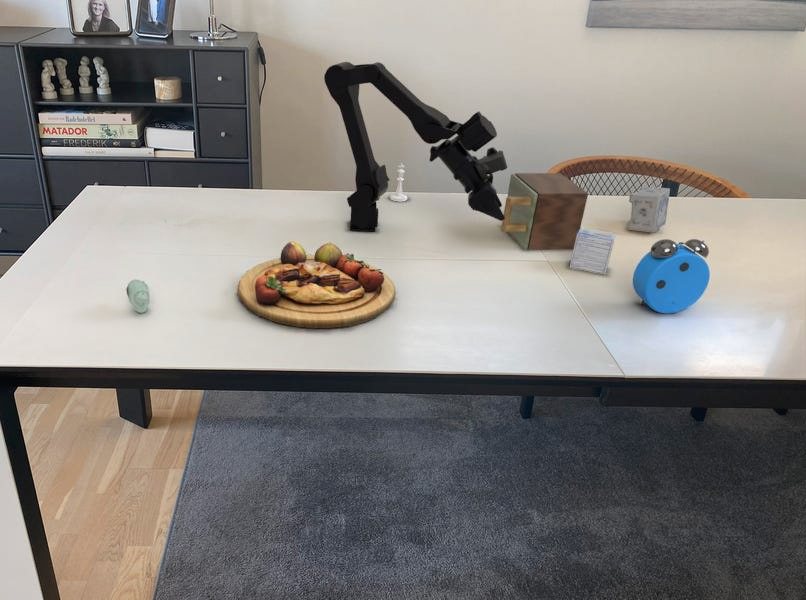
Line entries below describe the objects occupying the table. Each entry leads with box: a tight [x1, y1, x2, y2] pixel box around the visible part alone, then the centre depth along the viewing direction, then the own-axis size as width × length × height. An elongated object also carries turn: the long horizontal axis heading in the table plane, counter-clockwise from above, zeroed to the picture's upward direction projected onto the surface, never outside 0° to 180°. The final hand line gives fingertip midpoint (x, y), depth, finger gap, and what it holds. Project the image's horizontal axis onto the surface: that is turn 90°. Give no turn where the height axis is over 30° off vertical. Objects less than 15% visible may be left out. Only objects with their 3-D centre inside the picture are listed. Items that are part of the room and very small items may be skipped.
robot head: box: [126, 279, 150, 314], centre depth 132 cm, size 8×4×7 cm, turn 17°
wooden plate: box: [237, 240, 396, 329], centre depth 141 cm, size 32×32×8 cm
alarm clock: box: [632, 238, 711, 315], centre depth 140 cm, size 13×6×15 cm, turn 97°
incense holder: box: [627, 186, 671, 233], centre depth 182 cm, size 10×8×10 cm
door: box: [500, 173, 538, 251], centre depth 171 cm, size 7×16×14 cm, turn 8°
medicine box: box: [569, 226, 616, 275], centre depth 158 cm, size 8×4×9 cm, turn 65°
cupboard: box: [514, 172, 589, 251], centre depth 173 cm, size 12×16×14 cm
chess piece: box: [389, 162, 408, 203], centre depth 195 cm, size 5×5×10 cm
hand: (501, 213), depth 165 cm, fingers open, 9 cm apart
